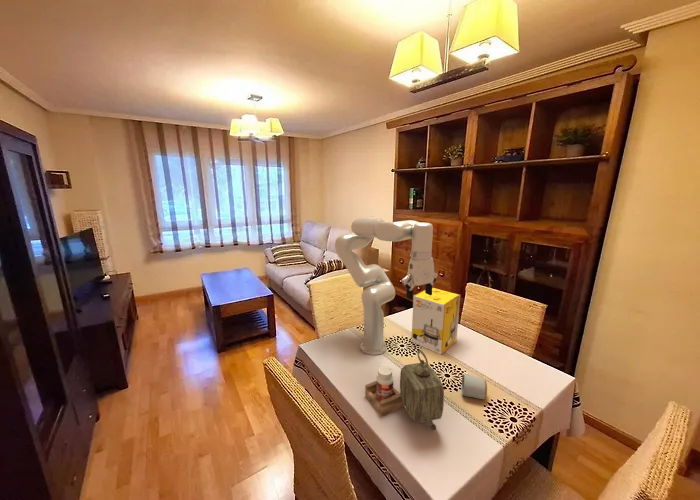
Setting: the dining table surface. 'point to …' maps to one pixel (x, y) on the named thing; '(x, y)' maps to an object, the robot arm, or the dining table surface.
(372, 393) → the tray
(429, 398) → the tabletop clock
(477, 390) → the ceramic mug
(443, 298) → the packaging box
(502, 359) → the dining table surface
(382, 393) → the pill bottle
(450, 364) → the dining table surface
